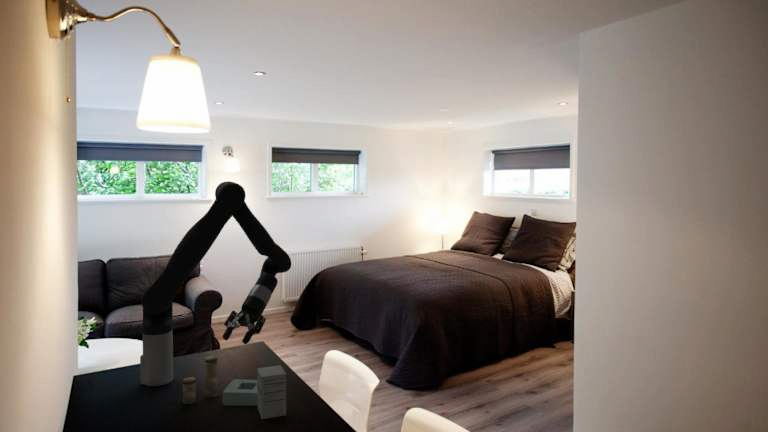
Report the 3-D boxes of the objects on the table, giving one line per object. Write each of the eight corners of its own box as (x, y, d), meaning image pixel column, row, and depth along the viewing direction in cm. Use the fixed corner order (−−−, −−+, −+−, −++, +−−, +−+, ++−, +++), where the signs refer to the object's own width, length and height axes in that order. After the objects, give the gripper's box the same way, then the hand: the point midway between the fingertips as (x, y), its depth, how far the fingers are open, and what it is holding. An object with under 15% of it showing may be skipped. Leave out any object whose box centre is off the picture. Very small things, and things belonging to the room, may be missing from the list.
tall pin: (203, 397, 152) (203, 360, 151) (208, 392, 155) (207, 355, 155) (215, 397, 152) (214, 360, 151) (219, 392, 155) (219, 356, 155)
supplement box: (256, 409, 144) (256, 367, 143) (281, 405, 147) (281, 364, 146) (260, 420, 137) (260, 376, 137) (286, 415, 140) (286, 373, 140)
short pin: (180, 404, 147) (180, 381, 147) (186, 399, 151) (185, 377, 150) (192, 404, 147) (192, 381, 146) (197, 399, 151) (197, 377, 150)
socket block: (222, 405, 146) (222, 392, 146) (233, 391, 156) (233, 379, 156) (261, 405, 146) (261, 393, 146) (270, 392, 156) (270, 380, 156)
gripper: (236, 292, 172) (212, 332, 163) (268, 296, 166) (245, 338, 156) (246, 304, 177) (224, 343, 168) (278, 308, 171) (256, 349, 161)
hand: (234, 341), depth 162 cm, fingers open, 8 cm apart
